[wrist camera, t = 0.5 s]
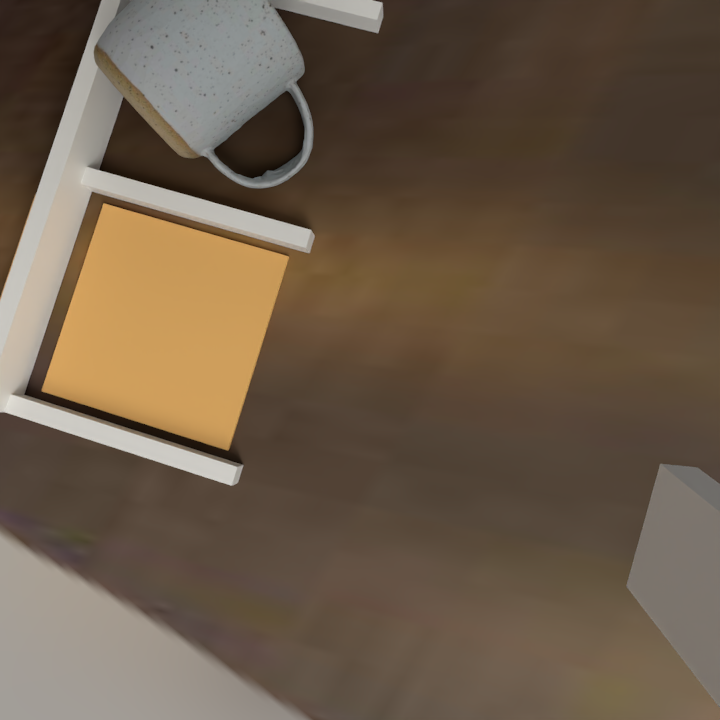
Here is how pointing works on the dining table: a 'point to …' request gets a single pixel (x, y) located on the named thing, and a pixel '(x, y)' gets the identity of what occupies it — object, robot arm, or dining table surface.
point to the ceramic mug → (205, 72)
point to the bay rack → (143, 288)
